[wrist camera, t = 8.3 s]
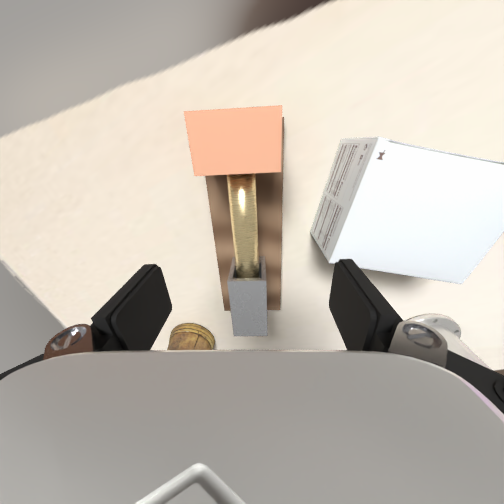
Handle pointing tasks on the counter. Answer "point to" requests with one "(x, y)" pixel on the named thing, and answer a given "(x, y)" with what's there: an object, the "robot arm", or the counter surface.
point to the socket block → (235, 140)
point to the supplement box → (410, 209)
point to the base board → (268, 229)
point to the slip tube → (244, 223)
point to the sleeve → (248, 302)
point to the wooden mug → (190, 338)
